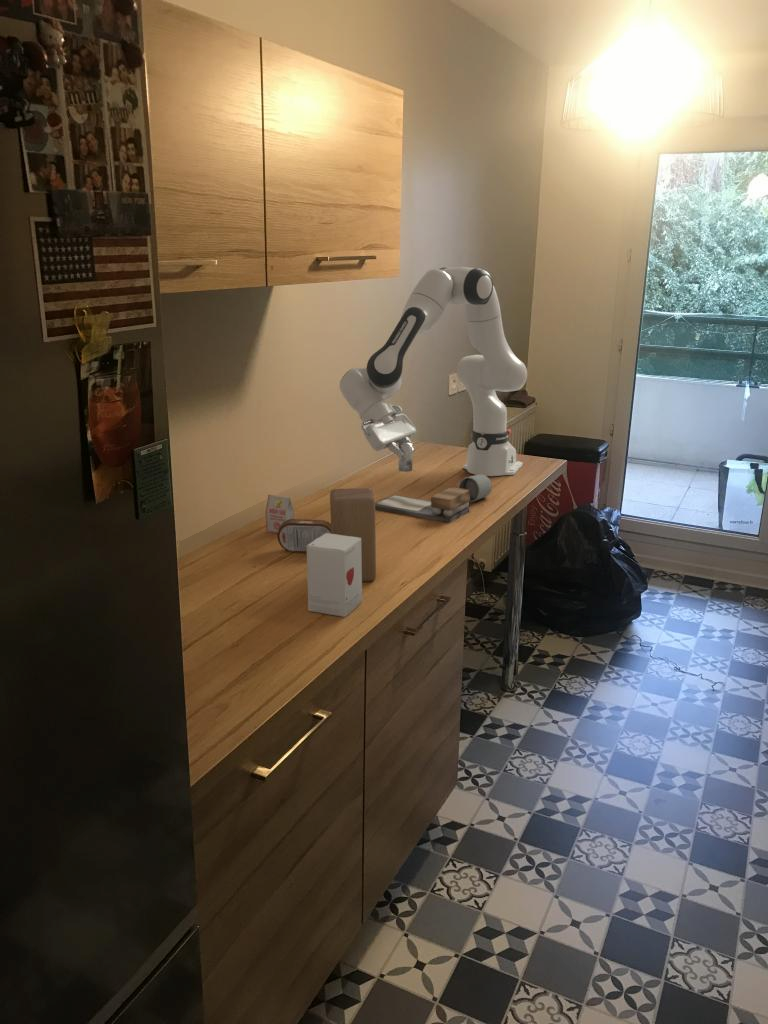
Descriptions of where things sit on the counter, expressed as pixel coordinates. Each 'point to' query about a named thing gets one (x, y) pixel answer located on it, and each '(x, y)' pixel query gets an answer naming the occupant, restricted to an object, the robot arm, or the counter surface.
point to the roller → (405, 457)
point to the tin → (301, 533)
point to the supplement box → (334, 574)
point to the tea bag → (278, 512)
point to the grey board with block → (430, 505)
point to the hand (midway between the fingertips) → (407, 454)
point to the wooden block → (356, 523)
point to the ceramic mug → (476, 486)
